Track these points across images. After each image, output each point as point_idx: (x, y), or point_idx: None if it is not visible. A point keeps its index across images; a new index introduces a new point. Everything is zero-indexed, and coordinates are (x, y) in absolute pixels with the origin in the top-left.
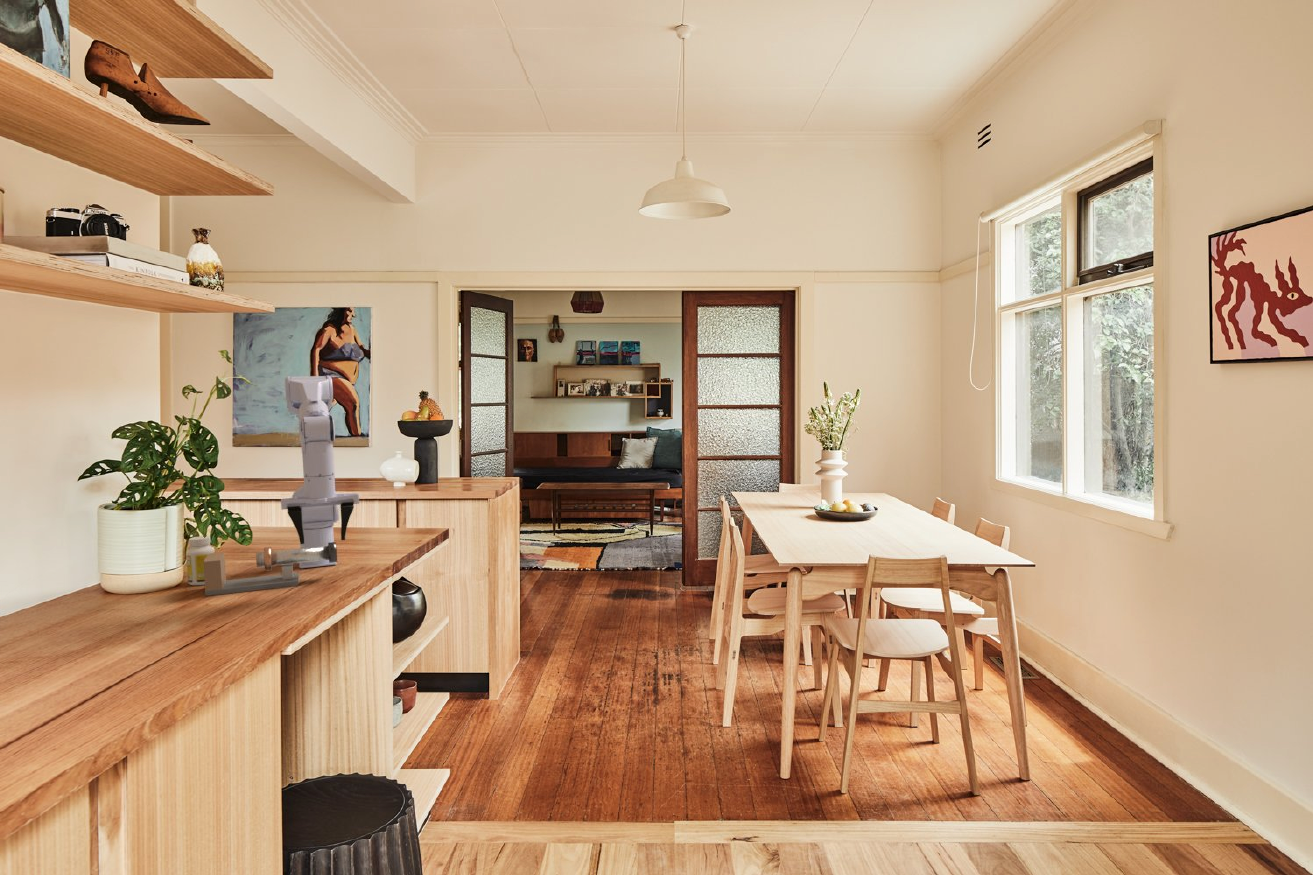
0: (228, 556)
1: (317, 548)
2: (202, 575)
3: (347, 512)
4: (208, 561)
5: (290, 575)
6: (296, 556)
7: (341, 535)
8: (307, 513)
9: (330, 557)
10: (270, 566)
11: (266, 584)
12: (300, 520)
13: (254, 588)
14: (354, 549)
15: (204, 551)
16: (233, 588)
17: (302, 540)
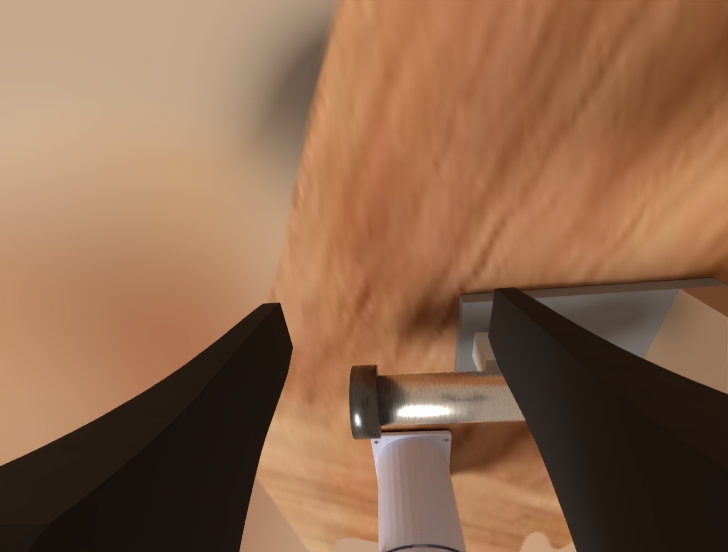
0: (566, 530)
1: (414, 409)
2: None
3: (46, 464)
4: None
5: (483, 339)
6: (482, 381)
7: (266, 315)
8: None
9: (371, 369)
10: None
11: (551, 296)
12: (645, 403)
13: (581, 290)
14: (348, 509)
15: None
16: (645, 289)
17: (513, 296)
